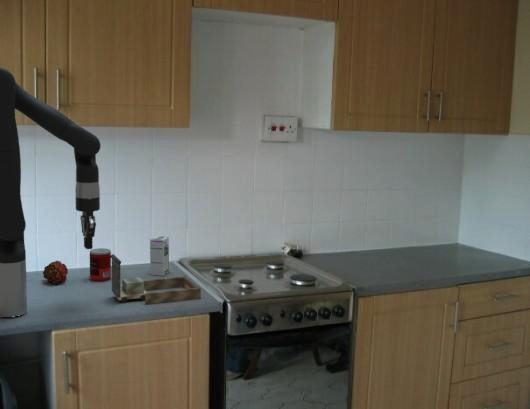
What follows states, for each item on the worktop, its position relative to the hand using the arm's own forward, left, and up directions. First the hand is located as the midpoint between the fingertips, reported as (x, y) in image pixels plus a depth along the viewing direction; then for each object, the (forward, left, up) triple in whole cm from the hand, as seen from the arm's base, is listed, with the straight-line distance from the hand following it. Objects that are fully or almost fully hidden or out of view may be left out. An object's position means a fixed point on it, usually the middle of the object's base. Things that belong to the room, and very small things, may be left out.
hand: (88, 248), depth 209 cm
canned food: (+10, +29, -19) cm, 36 cm away
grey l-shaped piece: (+14, 0, -19) cm, 23 cm away
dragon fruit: (-6, +31, -19) cm, 37 cm away
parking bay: (+26, 0, -19) cm, 32 cm away
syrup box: (+33, +29, -19) cm, 48 cm away
